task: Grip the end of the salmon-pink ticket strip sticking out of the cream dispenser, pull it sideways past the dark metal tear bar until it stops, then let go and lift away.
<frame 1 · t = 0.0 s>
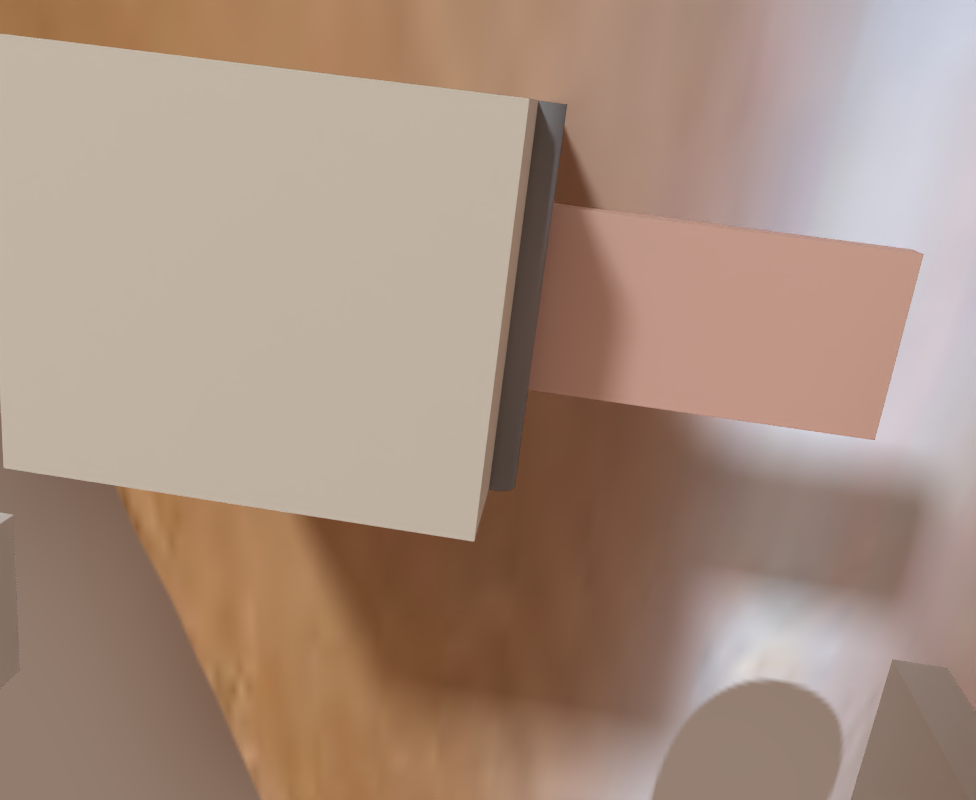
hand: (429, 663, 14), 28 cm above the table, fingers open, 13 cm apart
dispenser: (375, 229, 40), on the table
ticket strip: (517, 294, 30), point 10 cm above the table, slide at 0.0 cm
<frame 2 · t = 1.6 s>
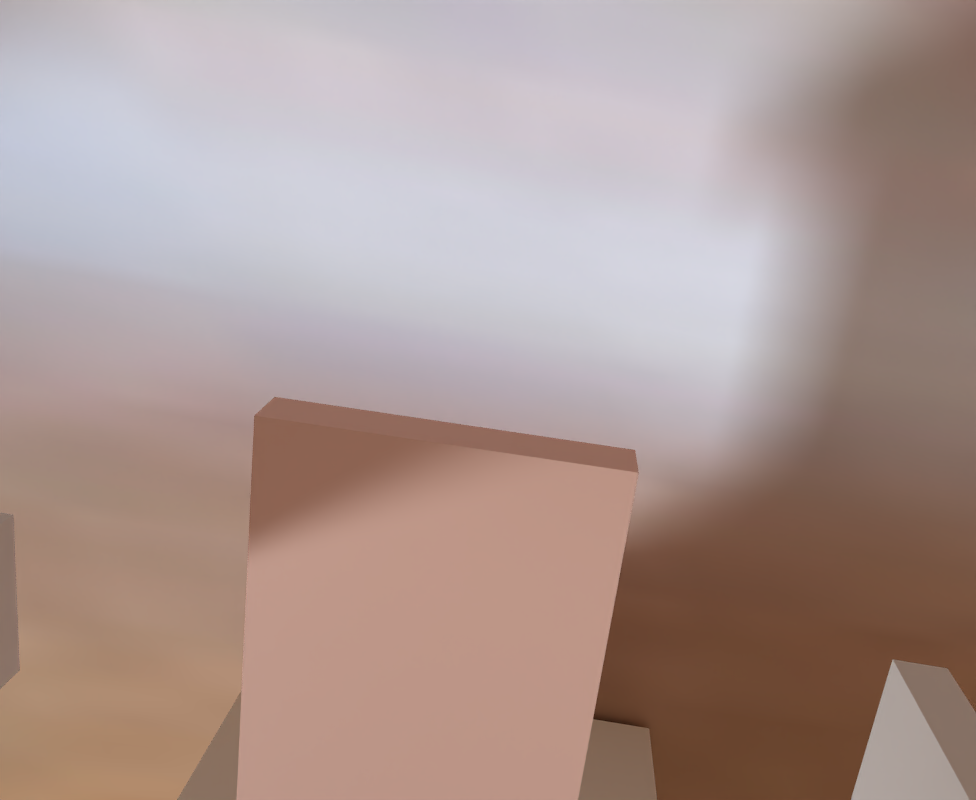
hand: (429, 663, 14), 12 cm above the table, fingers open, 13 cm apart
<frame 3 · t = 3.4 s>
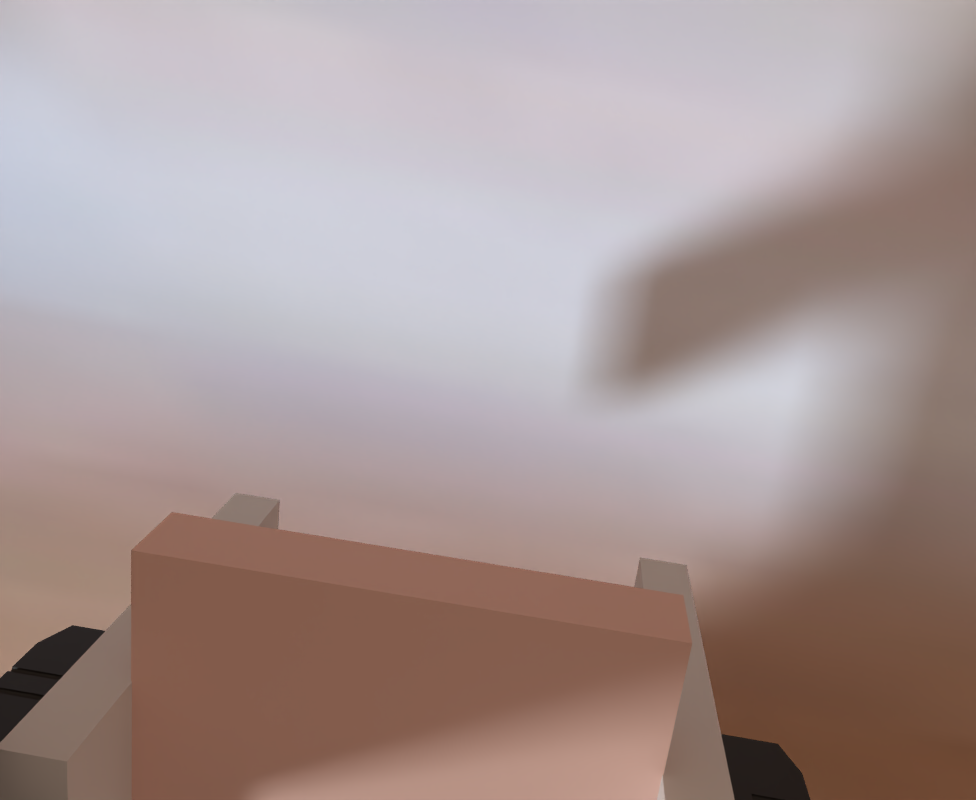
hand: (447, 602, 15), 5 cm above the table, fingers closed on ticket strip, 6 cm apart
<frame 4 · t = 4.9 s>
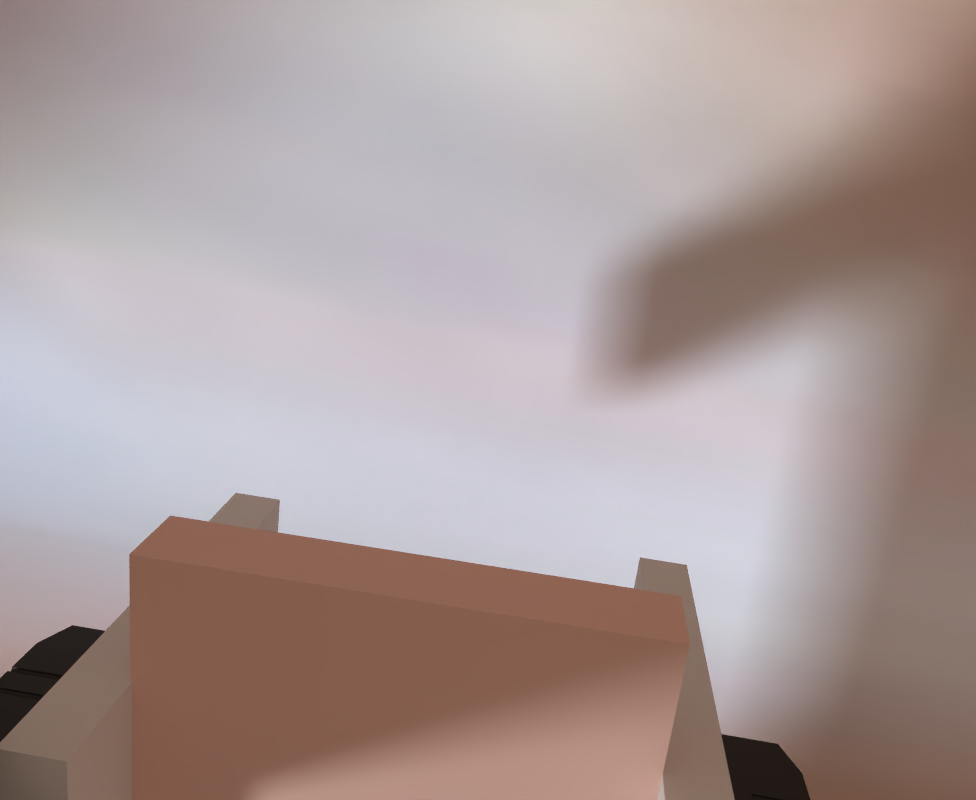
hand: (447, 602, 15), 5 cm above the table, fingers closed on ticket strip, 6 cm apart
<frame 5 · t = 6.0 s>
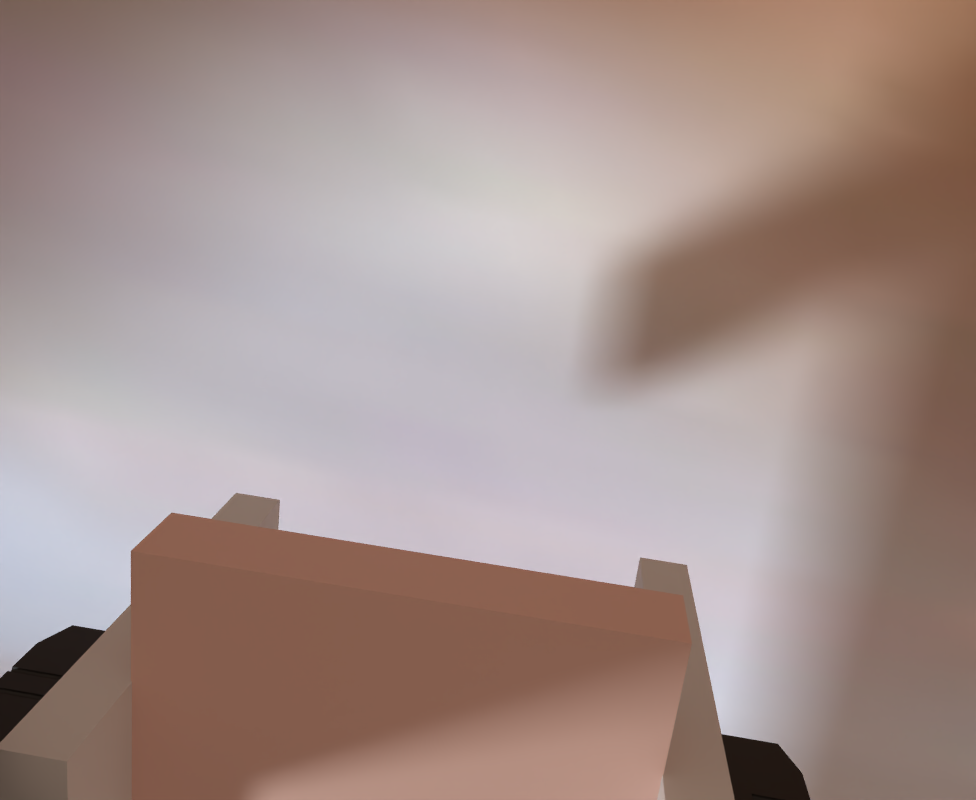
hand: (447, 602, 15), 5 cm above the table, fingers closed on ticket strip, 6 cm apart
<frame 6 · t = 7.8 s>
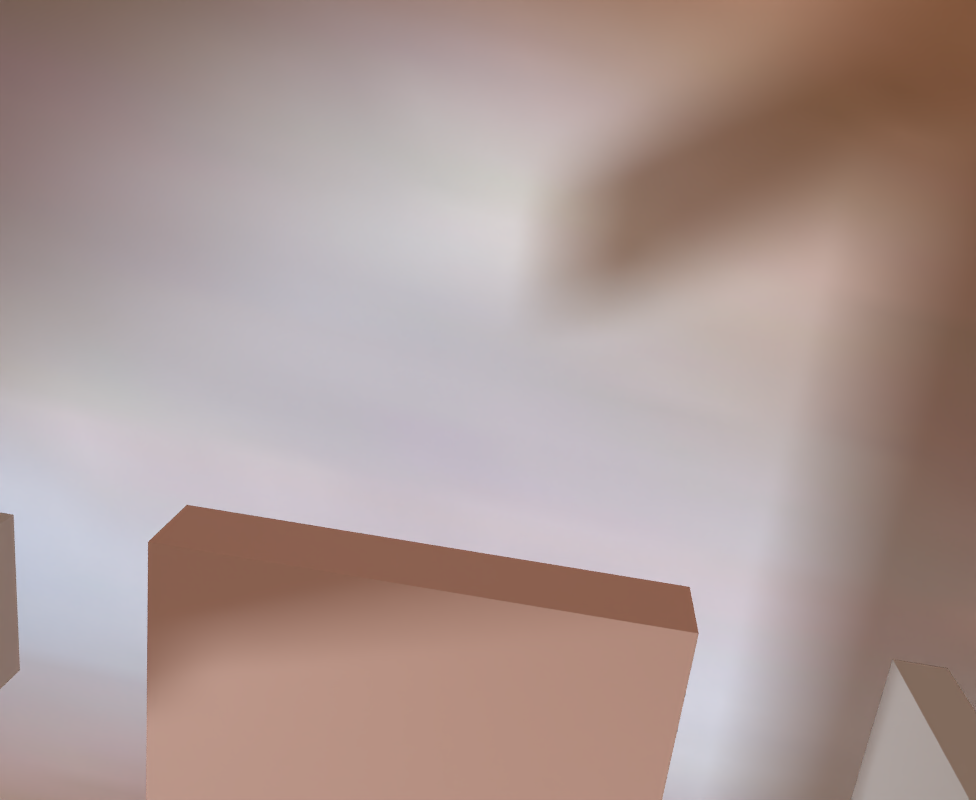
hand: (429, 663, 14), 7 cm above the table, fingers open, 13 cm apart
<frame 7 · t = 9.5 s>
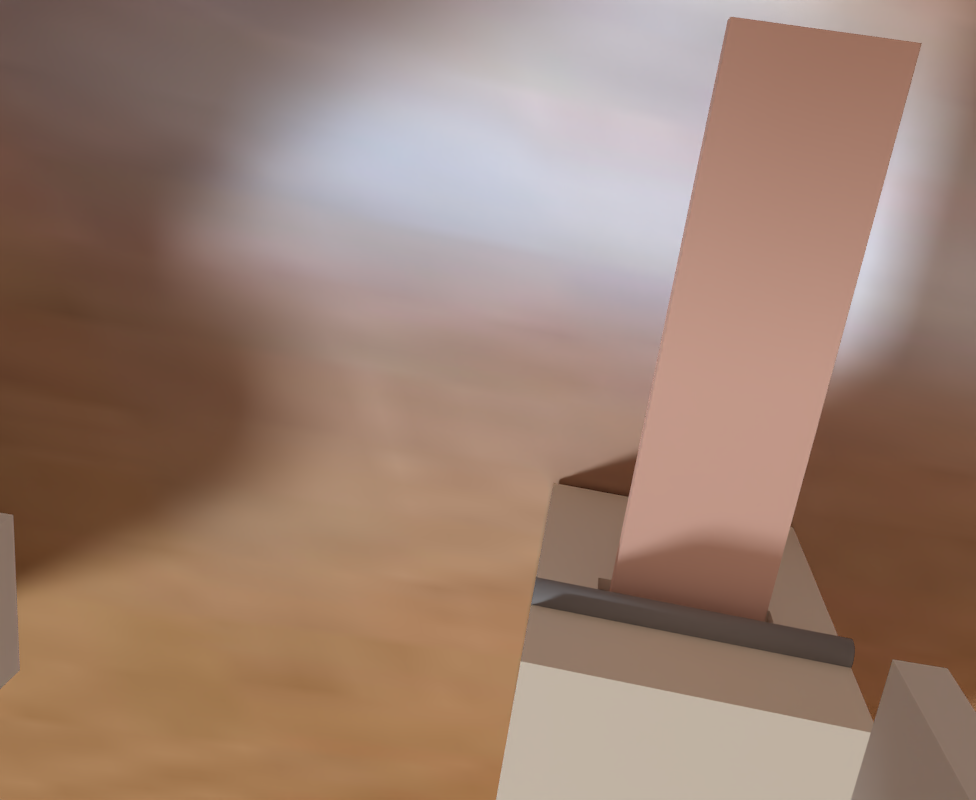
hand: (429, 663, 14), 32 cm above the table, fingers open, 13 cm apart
dispenser: (644, 625, 48), on the table
ticket strip: (738, 381, 34), point 10 cm above the table, slide at 9.5 cm
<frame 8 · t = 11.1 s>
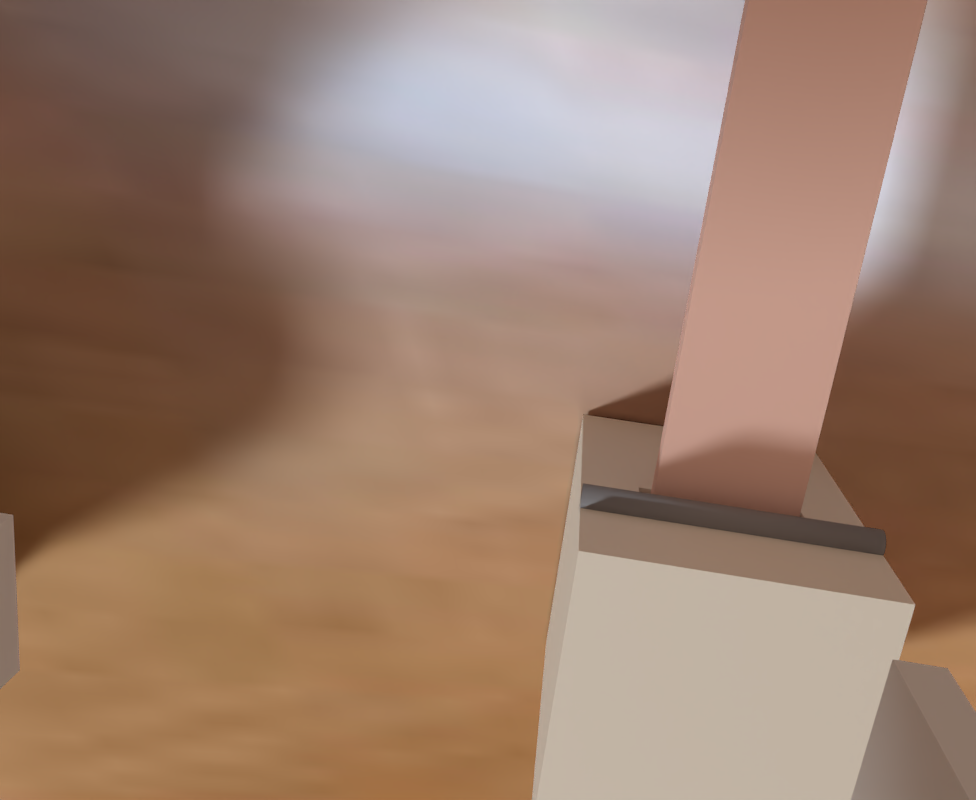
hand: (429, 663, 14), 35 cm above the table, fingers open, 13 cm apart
dispenser: (672, 551, 50), on the table
ticket strip: (771, 287, 36), point 10 cm above the table, slide at 9.5 cm
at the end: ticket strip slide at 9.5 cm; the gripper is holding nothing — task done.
